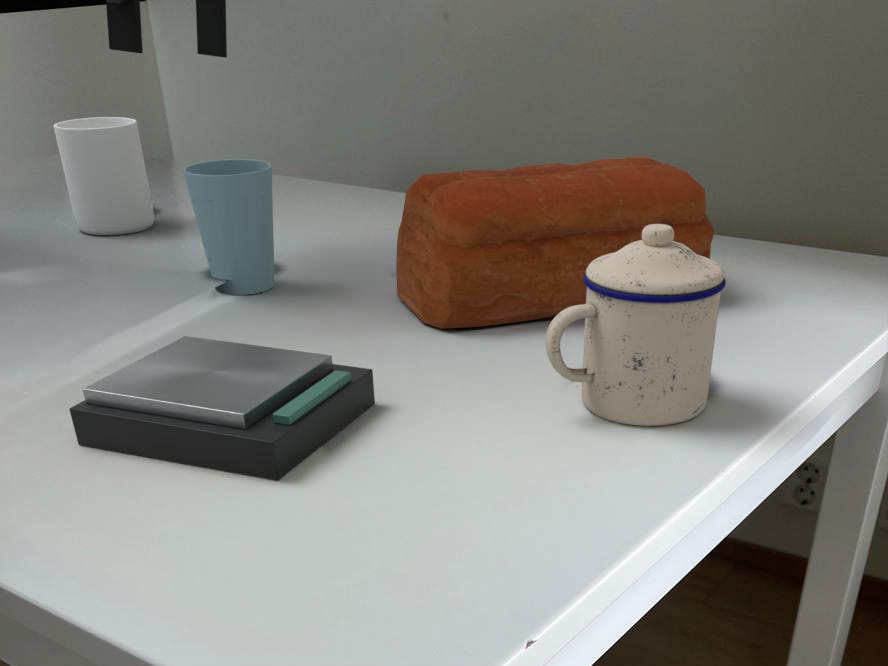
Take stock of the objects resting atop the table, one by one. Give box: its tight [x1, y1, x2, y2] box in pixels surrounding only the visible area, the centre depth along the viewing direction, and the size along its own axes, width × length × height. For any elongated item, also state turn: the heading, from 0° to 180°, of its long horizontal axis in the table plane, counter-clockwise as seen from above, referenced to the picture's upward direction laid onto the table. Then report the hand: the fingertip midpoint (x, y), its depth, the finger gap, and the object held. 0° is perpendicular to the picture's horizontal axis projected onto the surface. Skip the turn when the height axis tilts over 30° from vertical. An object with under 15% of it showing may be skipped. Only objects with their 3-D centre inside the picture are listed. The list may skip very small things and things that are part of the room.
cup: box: [182, 158, 275, 296], centre depth 91 cm, size 8×8×10 cm
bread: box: [395, 156, 716, 329], centre depth 87 cm, size 16×27×11 cm, turn 110°
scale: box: [68, 335, 376, 481], centre depth 66 cm, size 15×13×4 cm
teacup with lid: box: [545, 224, 727, 427], centre depth 66 cm, size 12×9×12 cm
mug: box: [53, 116, 155, 236], centre depth 112 cm, size 9×12×11 cm
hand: (171, 54), depth 89 cm, fingers open, 13 cm apart
